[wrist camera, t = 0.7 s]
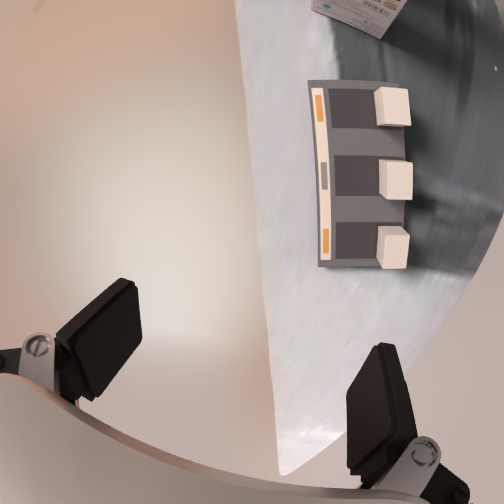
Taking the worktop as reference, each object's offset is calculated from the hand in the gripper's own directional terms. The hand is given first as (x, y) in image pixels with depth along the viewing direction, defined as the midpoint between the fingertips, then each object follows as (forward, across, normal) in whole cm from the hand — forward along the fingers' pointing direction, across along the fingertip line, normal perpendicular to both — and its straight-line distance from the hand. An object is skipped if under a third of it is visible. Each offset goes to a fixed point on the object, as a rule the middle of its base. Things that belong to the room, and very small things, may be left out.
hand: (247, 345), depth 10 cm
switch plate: (+27, -7, -5) cm, 28 cm away
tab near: (+24, -9, -14) cm, 29 cm away
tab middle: (+24, -11, -6) cm, 27 cm away
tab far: (+24, -13, +2) cm, 28 cm away
